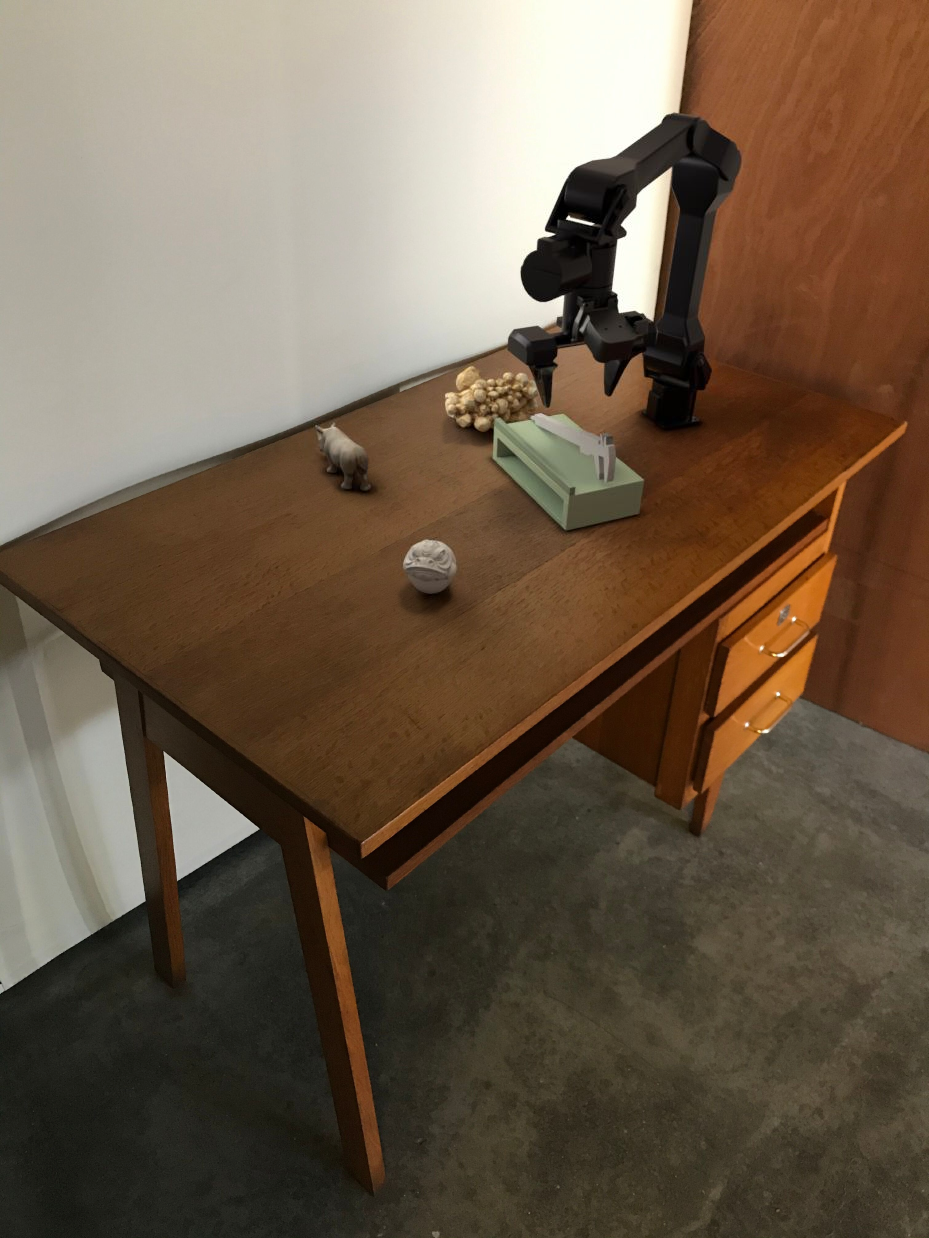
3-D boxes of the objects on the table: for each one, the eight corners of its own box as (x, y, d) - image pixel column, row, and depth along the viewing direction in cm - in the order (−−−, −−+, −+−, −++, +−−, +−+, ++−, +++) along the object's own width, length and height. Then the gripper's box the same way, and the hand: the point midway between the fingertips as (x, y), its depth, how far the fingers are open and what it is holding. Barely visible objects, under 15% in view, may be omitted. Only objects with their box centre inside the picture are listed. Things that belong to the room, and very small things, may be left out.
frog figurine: (396, 604, 113) (395, 552, 109) (412, 570, 118) (411, 520, 114) (449, 612, 112) (450, 560, 108) (462, 577, 118) (463, 527, 113)
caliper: (613, 484, 126) (619, 439, 123) (605, 486, 126) (611, 440, 122) (536, 418, 141) (539, 376, 137) (529, 420, 141) (532, 377, 137)
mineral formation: (545, 420, 152) (491, 450, 141) (472, 411, 159) (416, 439, 148) (543, 367, 148) (488, 394, 138) (469, 360, 155) (410, 385, 145)
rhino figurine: (333, 447, 143) (331, 408, 140) (376, 489, 134) (375, 449, 130) (307, 453, 141) (304, 414, 138) (348, 496, 132) (346, 455, 128)
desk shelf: (560, 445, 146) (564, 405, 142) (639, 514, 130) (645, 471, 127) (492, 458, 142) (494, 418, 138) (565, 531, 127) (570, 487, 123)
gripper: (553, 313, 112) (544, 440, 121) (692, 292, 118) (672, 414, 128) (508, 282, 120) (502, 403, 129) (640, 264, 126) (625, 381, 136)
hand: (577, 401), depth 130 cm, fingers open, 9 cm apart
